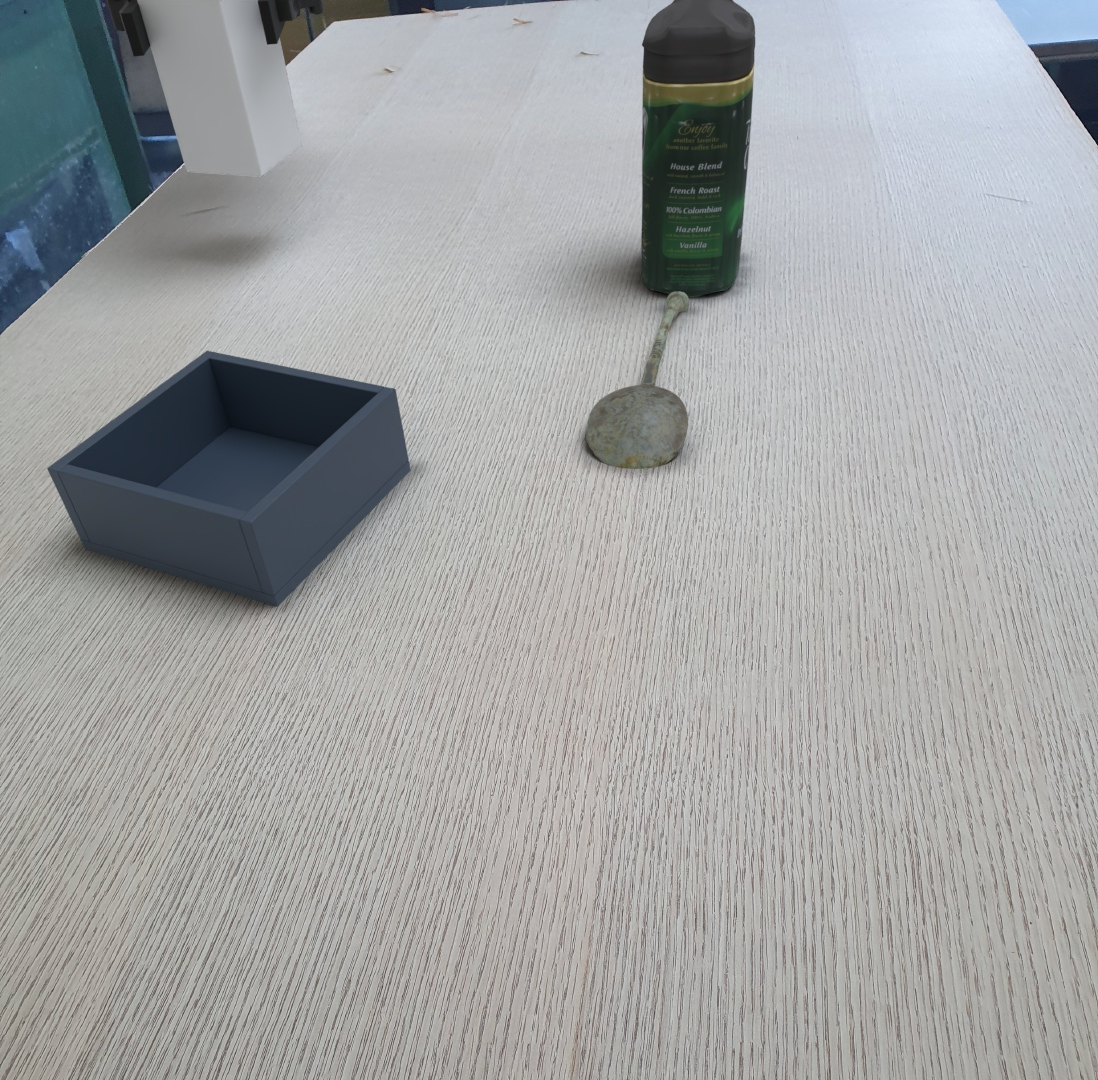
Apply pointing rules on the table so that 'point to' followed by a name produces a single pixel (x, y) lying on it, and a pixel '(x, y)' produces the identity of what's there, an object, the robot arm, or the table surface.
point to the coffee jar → (695, 144)
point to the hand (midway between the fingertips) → (200, 28)
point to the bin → (236, 474)
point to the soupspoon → (641, 413)
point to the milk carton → (222, 85)
